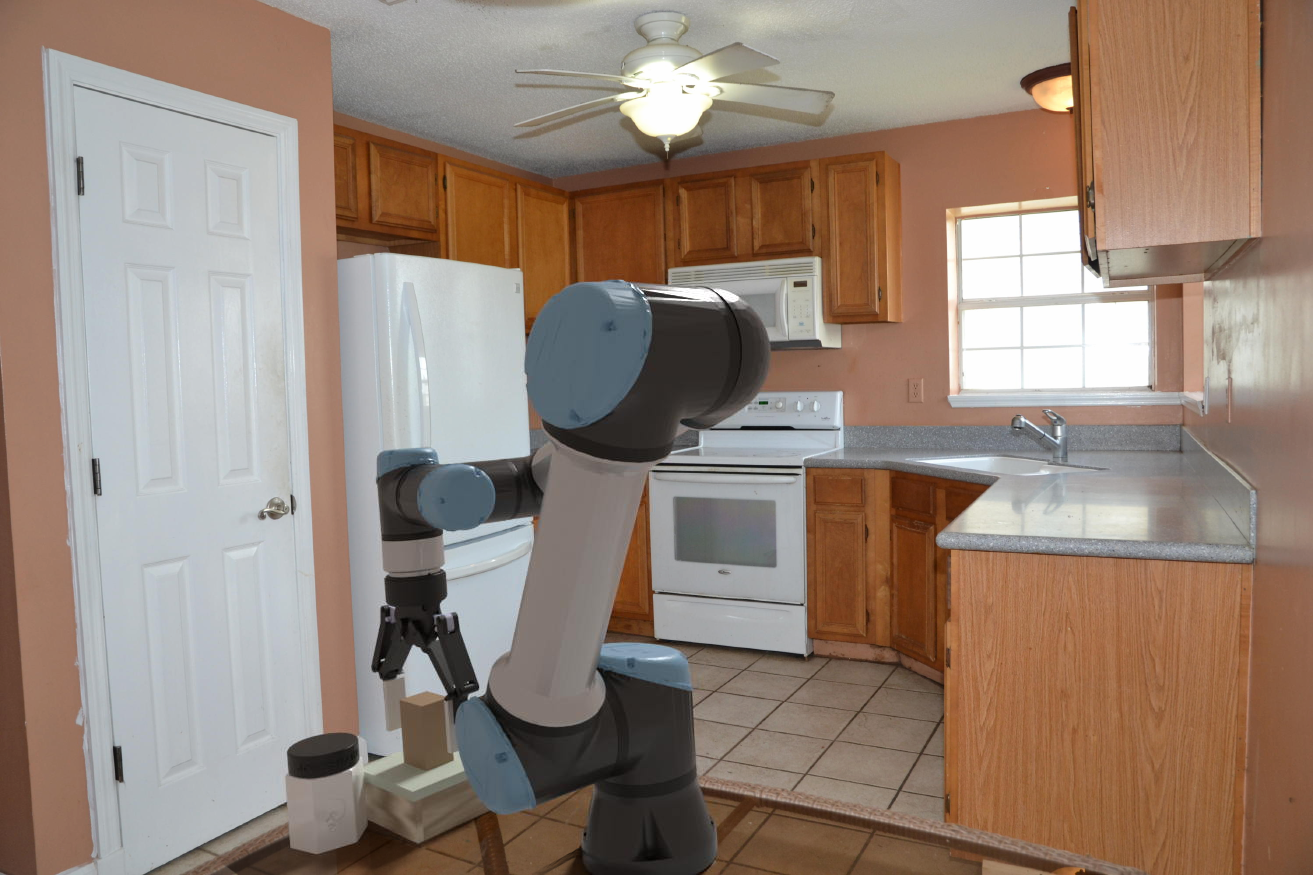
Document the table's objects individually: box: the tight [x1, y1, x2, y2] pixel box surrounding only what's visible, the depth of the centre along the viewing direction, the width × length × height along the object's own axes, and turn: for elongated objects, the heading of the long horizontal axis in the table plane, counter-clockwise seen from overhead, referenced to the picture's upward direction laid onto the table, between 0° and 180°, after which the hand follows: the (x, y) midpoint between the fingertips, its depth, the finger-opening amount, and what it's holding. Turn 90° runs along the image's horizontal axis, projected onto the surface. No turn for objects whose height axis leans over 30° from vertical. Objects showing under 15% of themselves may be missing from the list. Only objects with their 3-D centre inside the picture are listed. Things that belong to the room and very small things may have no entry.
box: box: [364, 779, 492, 845], centre depth 112 cm, size 12×12×6 cm
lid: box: [363, 690, 468, 802], centre depth 112 cm, size 13×13×9 cm
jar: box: [284, 732, 369, 855], centre depth 107 cm, size 9×8×12 cm
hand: (426, 738), depth 112 cm, fingers open, 13 cm apart
